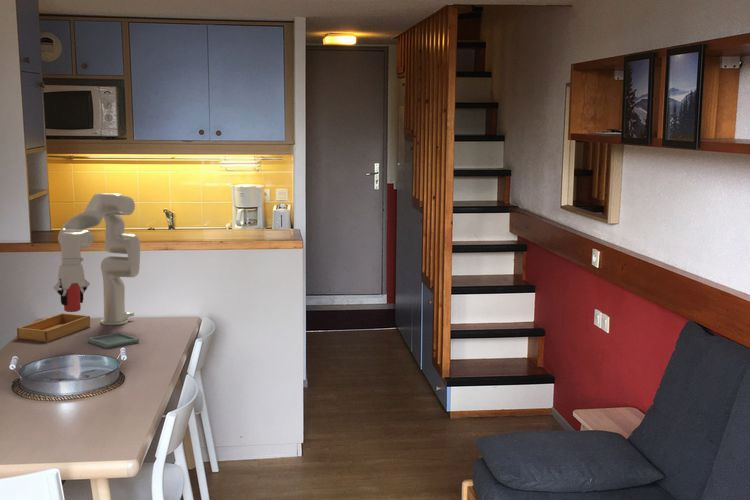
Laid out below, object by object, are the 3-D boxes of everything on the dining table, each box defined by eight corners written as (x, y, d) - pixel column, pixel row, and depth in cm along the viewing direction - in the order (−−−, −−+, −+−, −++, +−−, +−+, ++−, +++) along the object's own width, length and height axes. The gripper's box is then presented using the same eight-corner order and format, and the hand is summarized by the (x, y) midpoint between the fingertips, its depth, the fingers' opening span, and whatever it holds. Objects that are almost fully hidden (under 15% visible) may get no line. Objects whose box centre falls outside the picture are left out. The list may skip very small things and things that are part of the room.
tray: (47, 343, 349) (46, 330, 349) (17, 339, 353) (16, 327, 353) (90, 327, 379) (90, 315, 378) (62, 325, 383) (62, 313, 382)
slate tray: (119, 336, 362) (119, 332, 362) (138, 342, 353) (138, 338, 353) (88, 342, 351) (88, 338, 351) (107, 348, 341) (107, 344, 341)
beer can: (83, 309, 348) (82, 281, 346) (76, 312, 341) (75, 284, 340) (68, 308, 348) (67, 280, 347) (61, 311, 342) (60, 283, 340)
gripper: (85, 258, 351) (86, 299, 353) (46, 262, 338) (48, 305, 340) (94, 260, 346) (95, 302, 348) (55, 265, 333) (57, 308, 336)
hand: (72, 303), depth 344 cm, fingers closed on beer can, 6 cm apart
